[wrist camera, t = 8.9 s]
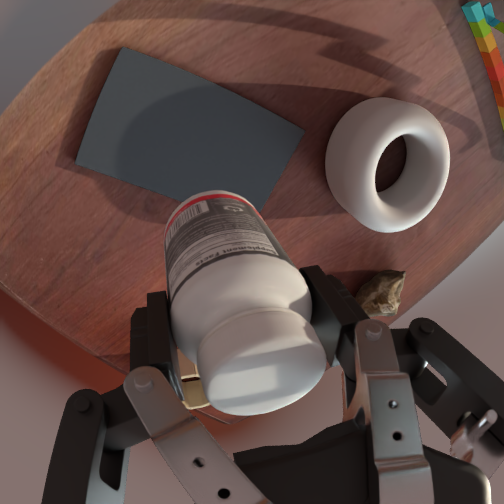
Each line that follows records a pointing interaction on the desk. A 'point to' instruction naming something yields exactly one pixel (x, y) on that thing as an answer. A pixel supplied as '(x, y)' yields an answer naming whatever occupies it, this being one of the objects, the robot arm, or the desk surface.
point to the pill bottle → (239, 306)
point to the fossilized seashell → (381, 293)
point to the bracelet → (191, 384)
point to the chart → (488, 46)
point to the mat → (183, 134)
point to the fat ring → (368, 154)
